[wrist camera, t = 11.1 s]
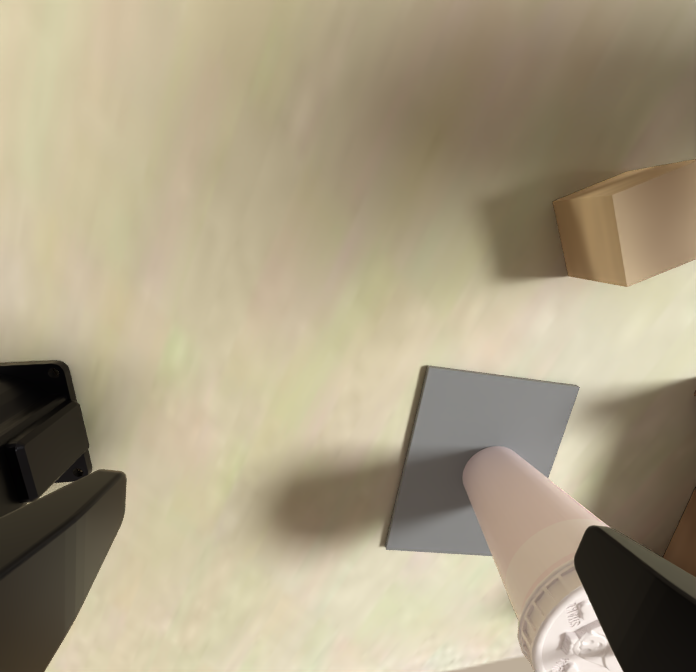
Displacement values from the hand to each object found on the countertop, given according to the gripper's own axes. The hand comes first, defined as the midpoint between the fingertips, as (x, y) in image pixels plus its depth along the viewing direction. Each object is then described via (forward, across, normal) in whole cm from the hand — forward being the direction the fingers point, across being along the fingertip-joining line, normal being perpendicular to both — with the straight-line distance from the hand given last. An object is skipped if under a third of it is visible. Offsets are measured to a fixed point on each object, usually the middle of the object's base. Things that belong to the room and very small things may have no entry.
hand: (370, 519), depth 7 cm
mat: (+13, -10, +7) cm, 18 cm away
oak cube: (+14, -12, -8) cm, 20 cm away
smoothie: (+13, -11, +7) cm, 18 cm away
